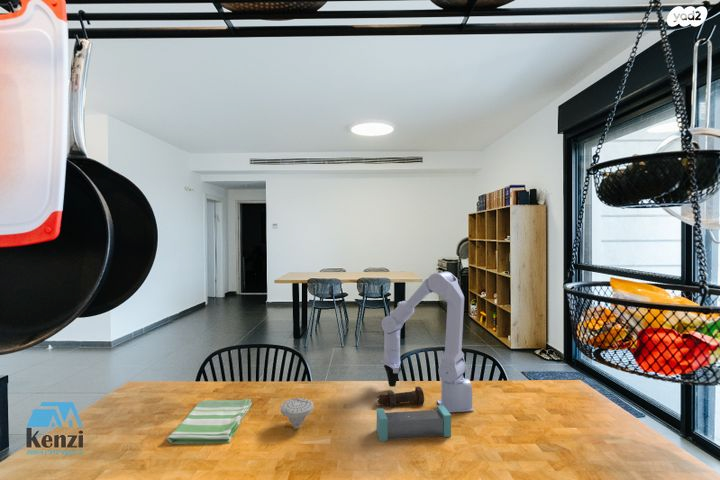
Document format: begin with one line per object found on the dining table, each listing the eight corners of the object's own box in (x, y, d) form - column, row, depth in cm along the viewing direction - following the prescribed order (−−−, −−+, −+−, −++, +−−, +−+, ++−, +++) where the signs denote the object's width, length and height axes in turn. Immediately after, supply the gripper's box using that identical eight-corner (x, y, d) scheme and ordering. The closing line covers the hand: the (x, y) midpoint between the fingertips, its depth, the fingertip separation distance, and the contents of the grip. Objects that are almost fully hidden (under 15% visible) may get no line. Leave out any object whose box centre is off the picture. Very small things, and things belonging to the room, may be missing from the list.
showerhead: (272, 406, 102) (293, 392, 111) (272, 431, 102) (293, 416, 111) (300, 413, 98) (319, 398, 107) (300, 439, 98) (319, 422, 107)
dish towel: (252, 404, 119) (252, 396, 119) (231, 445, 96) (231, 435, 96) (198, 406, 118) (198, 397, 118) (163, 447, 95) (163, 436, 95)
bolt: (378, 410, 118) (421, 405, 121) (380, 409, 114) (425, 404, 116) (375, 391, 121) (418, 387, 124) (378, 389, 117) (422, 385, 119)
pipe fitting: (443, 425, 105) (443, 405, 105) (451, 436, 99) (451, 415, 99) (376, 429, 103) (376, 408, 103) (380, 441, 97) (380, 419, 97)
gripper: (378, 343, 137) (378, 378, 137) (385, 355, 122) (384, 394, 122) (396, 342, 137) (396, 377, 137) (405, 354, 123) (405, 393, 123)
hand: (392, 385), depth 130 cm, fingers closed
